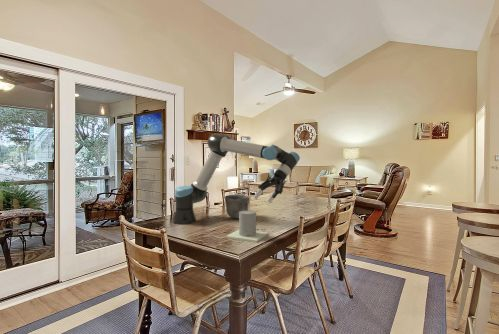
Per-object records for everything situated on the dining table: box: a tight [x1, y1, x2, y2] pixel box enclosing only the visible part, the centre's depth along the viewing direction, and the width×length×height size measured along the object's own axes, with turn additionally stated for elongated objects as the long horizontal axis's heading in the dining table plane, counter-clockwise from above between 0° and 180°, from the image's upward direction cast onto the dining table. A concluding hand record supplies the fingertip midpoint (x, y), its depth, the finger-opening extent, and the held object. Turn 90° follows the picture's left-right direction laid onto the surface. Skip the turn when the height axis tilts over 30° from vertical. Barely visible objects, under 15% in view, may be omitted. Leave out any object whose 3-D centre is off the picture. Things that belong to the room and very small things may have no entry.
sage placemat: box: [225, 229, 269, 243], centre depth 152 cm, size 18×16×1 cm
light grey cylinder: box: [238, 209, 257, 237], centre depth 152 cm, size 10×10×12 cm
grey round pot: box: [224, 194, 250, 220], centre depth 196 cm, size 18×18×15 cm
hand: (261, 200), depth 159 cm, fingers open, 13 cm apart
